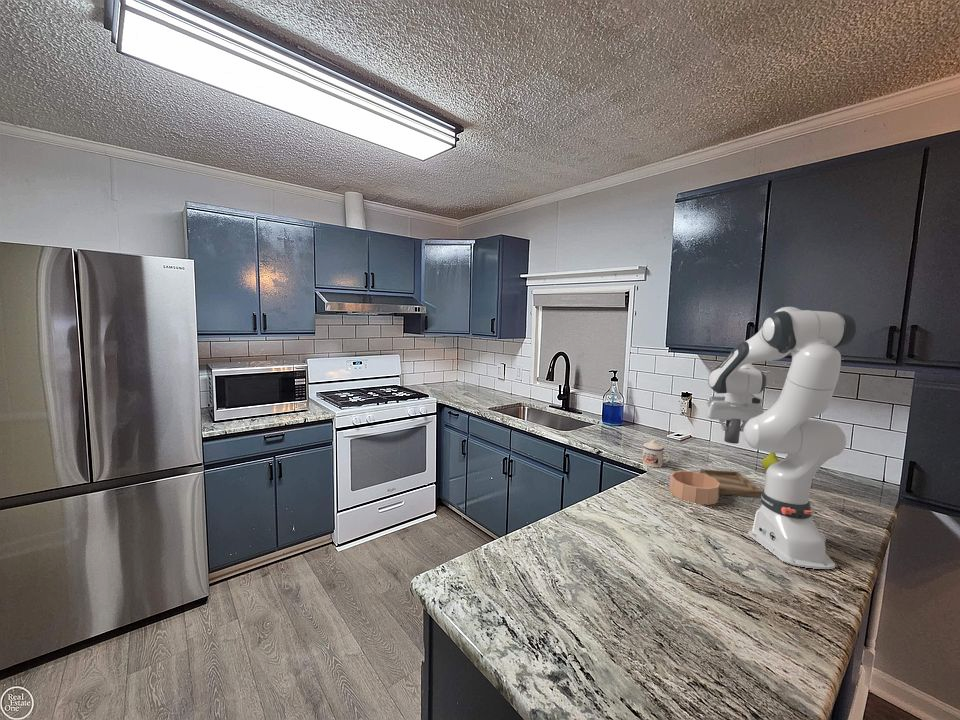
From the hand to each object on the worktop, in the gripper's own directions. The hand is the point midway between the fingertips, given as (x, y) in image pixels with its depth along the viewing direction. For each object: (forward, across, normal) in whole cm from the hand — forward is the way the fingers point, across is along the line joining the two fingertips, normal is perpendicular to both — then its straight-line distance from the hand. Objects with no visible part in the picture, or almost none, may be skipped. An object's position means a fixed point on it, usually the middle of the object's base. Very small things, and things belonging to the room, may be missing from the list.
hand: (732, 430), depth 162 cm
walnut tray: (+24, +1, 0) cm, 24 cm away
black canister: (+5, 0, 0) cm, 5 cm away
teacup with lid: (+24, -23, +18) cm, 38 cm away
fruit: (+24, +27, +20) cm, 41 cm away
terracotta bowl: (+23, -17, -12) cm, 31 cm away
